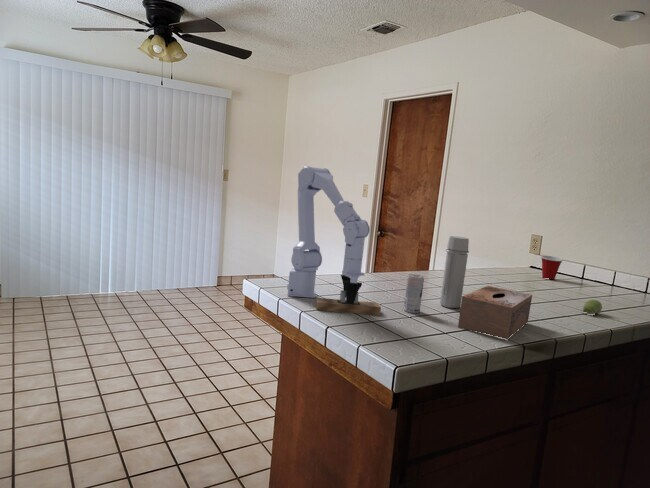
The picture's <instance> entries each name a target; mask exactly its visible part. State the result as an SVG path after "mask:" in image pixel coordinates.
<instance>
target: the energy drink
mask: <svg viewBox="0 0 650 488" xmlns="http://www.w3.org/2000/svg"><path fill="white" fill-rule="evenodd" d="M424 283H425V278H424V276H423V275H421V274H415V273H414V274H413V273H411V274H408V276H407V280H406V287H405V294H404V301H403V302H404V303H403V311H405V312H406V313H409V314H418V313H420V312H421V304H422V296H423V289H424Z"/></svg>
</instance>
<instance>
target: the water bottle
mask: <svg viewBox="0 0 650 488" xmlns="http://www.w3.org/2000/svg"><path fill="white" fill-rule="evenodd" d="M469 240H470V239H469V238H468V237H465V236H455V235H450V236H449V237H448V242H447V247H446V249H445V251H446V256H445V263H444V271H443V279H442V285H441V292H440V301H439V304H440V305H441V306H442V307H444V308H447V309H453V308H456V309H459V308H461V302H462V296H463V291H464V285H465V276H466V270H467V263H468V256H469V252H470V250H469V245H470V243H469V242H470V241H469Z"/></svg>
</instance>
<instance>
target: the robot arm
mask: <svg viewBox="0 0 650 488" xmlns="http://www.w3.org/2000/svg"><path fill="white" fill-rule="evenodd" d="M297 178H298V179H297V180H298V181H297V183H298V184H297V185H298V187H297V188H298V189H297V216H298V218H297V219H298V220H297V222H298V223H297V224H298V242H297V243H296V244H295V245H294V246H293V247H292V255H291V257H290V258H291V260H290V261H291V264H292V267H293V268H289V275H288V284H287V287H286V288H287V289H286V290H287V296H289V297H299V298H309V299H310V298H313V299H315V298H316V291H315V287H316V286H315V285H316V277H317V276H316V275H317V271H318V269H319V268H320V266H322V263H323V257H322V253H321V247H320V246H319V244H318V243H317V242H316V240H315V239H316V238H315V208H314V207H315V202H314V200H315V199H314V198H315V197H314V196H315V195H317V193H318V192H320V191H323V192H324V194H325V195H326V196H327V198H328V199H329V200H330V202H331V203H332V204H333V206H334V211H333V212H334V214H335V216H336V217H337V218H338V220H339V222H340V223H341V225H342V227H343V228H342V232H343V236H344V242H345V245H344V246H345V247H344V255H343V268H342V271H341V274H340V277H341V280H342V286H343V289H342V290H344V291H346V299H345V300H346V302H347V304H354V301H355V298H356V295H357V292H358V293H359V290H360V289H361V287H362V285H363V284H362V282H358V280H359V278H360V277H361V276H365V272H363V271H362V267H363V257H364V249H365V248H364V247H365V239H366V238H367V237H368V236H369V234H370V225H369V222H368V221H367V220H366V219H362V218H361V216H360V215H359V214H358V213H357V212H356V210H355V207H354V205H353V203H352V202H349V201H348V200H344V198H343V196H342V195H341V193H340V191H339V189H338V187H337V185H336V184H335V182H334V176H333V174H332V173H331V172H330V170H329V169H327V168H324V167H323V168H321V167H314V166H313V167H312V166H309V165H305V166H303V167H302V168H301V170H300V171H299V172H298V173H297Z"/></svg>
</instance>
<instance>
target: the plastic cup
mask: <svg viewBox="0 0 650 488" xmlns="http://www.w3.org/2000/svg"><path fill="white" fill-rule="evenodd" d="M540 258H541V272H542V278H543V277H544V278H549V279H554V280H555V279H556V276H557V274H558V271H559V268H560V266H561V265H562V262H563V261H564V259H562V258H560V257H557V256H553V255H552V256H551V255H540Z"/></svg>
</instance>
